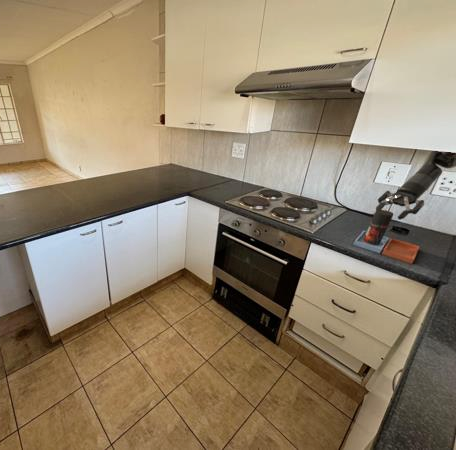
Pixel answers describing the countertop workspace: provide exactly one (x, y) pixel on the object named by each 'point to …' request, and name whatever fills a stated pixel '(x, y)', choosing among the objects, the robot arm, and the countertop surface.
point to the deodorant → (378, 227)
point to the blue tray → (375, 248)
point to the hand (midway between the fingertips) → (387, 214)
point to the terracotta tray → (401, 250)
